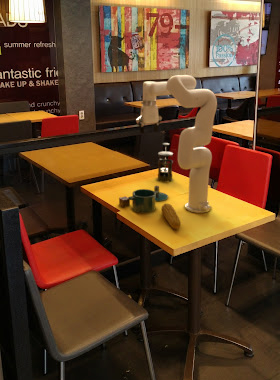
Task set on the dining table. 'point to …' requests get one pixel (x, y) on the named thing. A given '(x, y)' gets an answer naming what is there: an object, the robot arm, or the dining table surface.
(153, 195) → the pot
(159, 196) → the lid
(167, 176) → the french press
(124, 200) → the block
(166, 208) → the food
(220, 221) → the dining table surface
